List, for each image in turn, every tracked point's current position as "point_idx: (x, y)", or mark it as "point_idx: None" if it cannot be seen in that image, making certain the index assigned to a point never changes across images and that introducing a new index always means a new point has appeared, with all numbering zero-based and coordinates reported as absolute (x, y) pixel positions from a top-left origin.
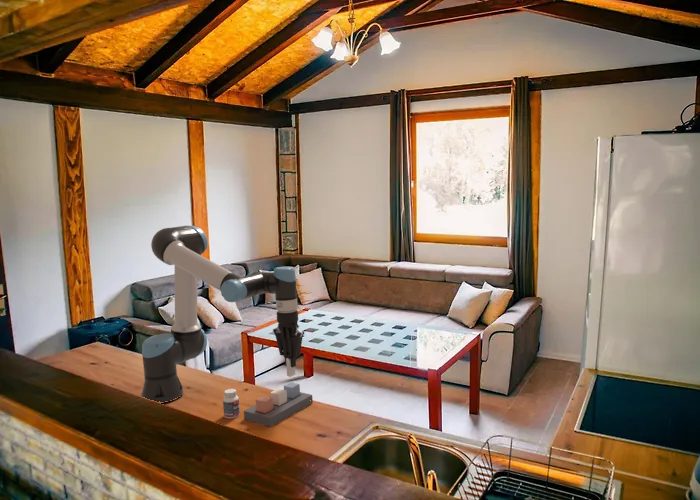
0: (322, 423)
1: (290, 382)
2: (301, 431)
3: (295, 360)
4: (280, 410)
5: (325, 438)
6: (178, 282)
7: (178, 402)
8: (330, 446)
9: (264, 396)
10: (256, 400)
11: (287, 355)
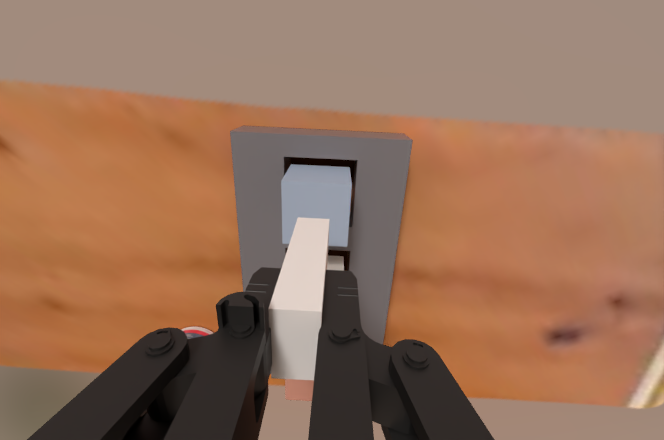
0: (535, 274)
1: (281, 185)
2: (487, 340)
3: (359, 312)
4: (373, 327)
5: (583, 345)
6: None
7: None
8: (613, 372)
9: None
10: (290, 397)
11: (264, 382)
